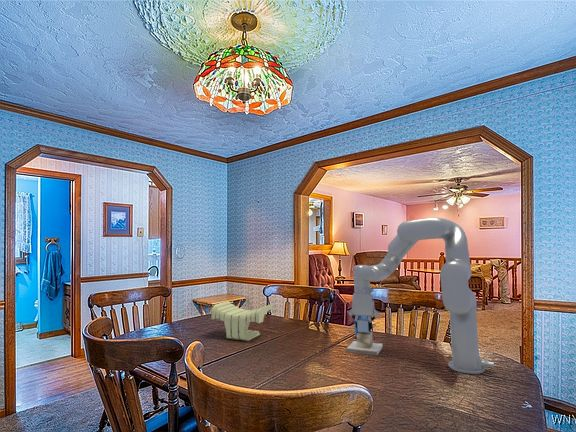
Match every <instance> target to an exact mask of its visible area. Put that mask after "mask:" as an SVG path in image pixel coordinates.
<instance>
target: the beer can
mask: <svg viewBox="0 0 576 432" xmlns="http://www.w3.org/2000/svg"><path fill="white" fill-rule="evenodd" d="M355 316H356V315H355ZM360 318H361V319H368V316H361V315H359V319H360ZM369 332H372V330H371V331H369ZM357 333H358V330H357V328H356V321H355V320H354V336H355V337H356V339H357Z"/></svg>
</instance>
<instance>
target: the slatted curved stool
mask: <svg viewBox="0 0 576 432" xmlns="http://www.w3.org/2000/svg"><path fill="white" fill-rule="evenodd" d="M272 309H274V304H273V303H269V304H267V305H265V306H261V307H260V308H258V309H253V310H252V309H251V310H249V309H244V308H241V307H240V308H239V306H236V305H235V304H234V303H232V302H230V301H228V300H227V301H223V302H220V303H216V304H214V305H213V306H212V308H211V320H215V319H217V320H221V321H222V322H223V323H224V327H225V333H226V339H230V340H241V341H248V342H249V341H251V340H252V339H255V338H256V337H259V336H260V335H261V333H260V332H259V330H250V329H249V326H250V324H251V323H252V322H253V323H254V322H255V323H257V324H261V323H263V322H264V318H265V315H266V314H267V312H269V311H271V310H272Z"/></svg>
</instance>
